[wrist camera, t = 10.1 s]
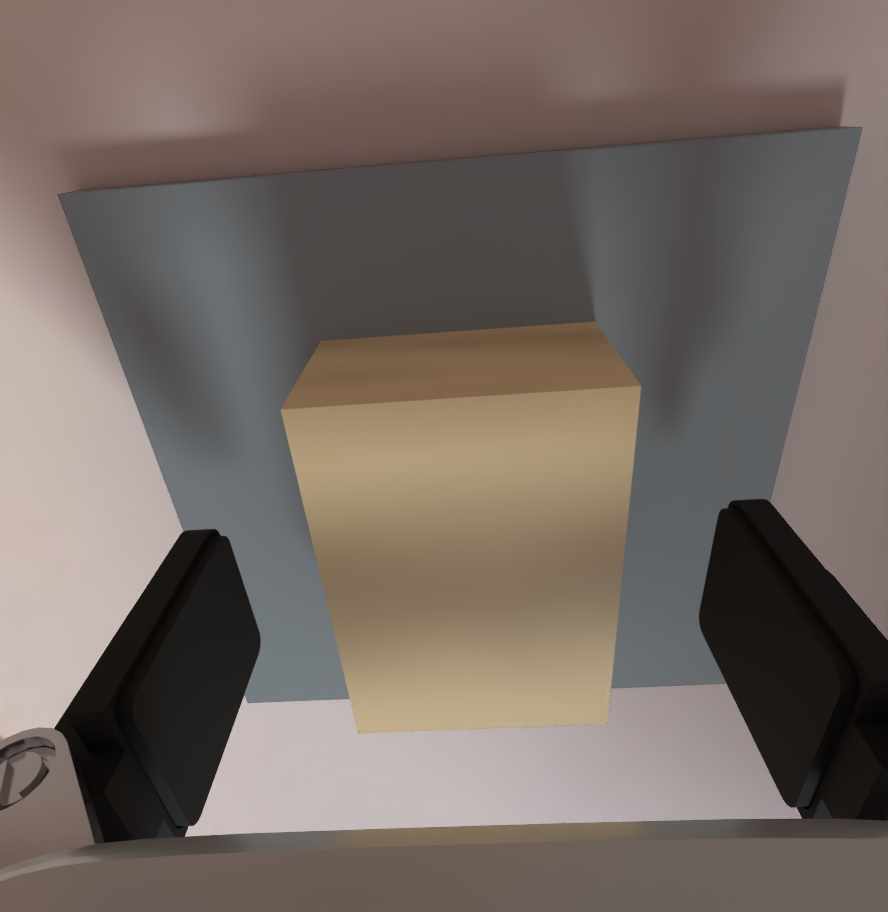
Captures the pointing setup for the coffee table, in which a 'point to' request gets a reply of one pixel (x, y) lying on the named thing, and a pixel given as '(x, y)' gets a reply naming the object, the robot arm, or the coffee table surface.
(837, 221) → the mat
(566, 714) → the light brown rectangular block
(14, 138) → the coffee table surface
